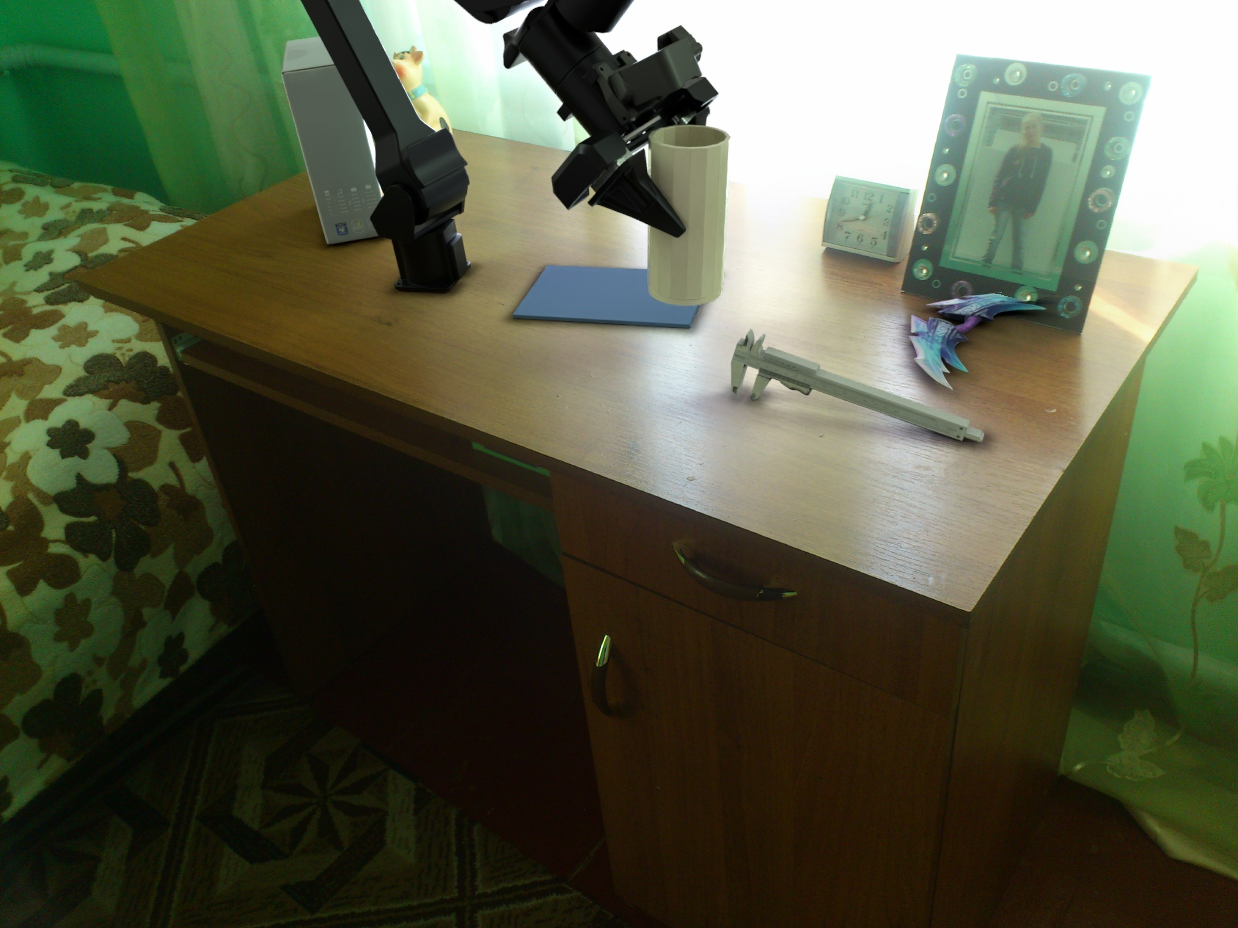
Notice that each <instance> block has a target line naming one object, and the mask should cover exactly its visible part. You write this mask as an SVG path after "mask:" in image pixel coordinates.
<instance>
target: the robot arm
mask: <svg viewBox="0 0 1238 928" xmlns="http://www.w3.org/2000/svg"><path fill="white" fill-rule="evenodd" d="M299 1H300V2H301V4H302V6H303V8H304V10H305V12H306V13H307V16H308V17H309V20H310V22H311V24H312V25H313V27H314V29H315V31H316V33H317V34H318V37H319V36H320V38H321V40H322V42H323V44H324V46H325V48H326V50H327V51H328V53H329V55H330V57H331V59H332V61H333V63H334V65H335V67H336V68H337V70H338V72H339V74H340V76H341V78H342V80H343V82H344V84H345V85H346V87H347V89H348V91H349V93H350V95H351V97H352V99H353V101H354V102H355V104H356V106H357V108H358V110H359V112H360V114H361V116H362V118H363V119H364V121H365V123H366V125H367V127H368V129H369V131H370V133H371V135H372V139H373V142H374V147H375V175H376V178H377V180H378V182H379V185H380V187H381V190H382V192H383V197H382V198H381V200H380V201H379V203H378V205H377V206H376V208H375V210H374V211H373V213H372V215H371V216H370V221H371V223H372V225H373V227H374V229H375V231H376V233H377V235H378V236H377V237H379V238H382V239H387V240H390V241H391V245H392V248H393V253H394V256H395V261H396V264H397V269H398V272H399V277H400V278H399V279H397V281H396V282H395V283H394V285H393V286H394V290H396V291H397V290H398V291H414V292H415V291H416V292H433V293H436V292H437V293H449V292H450V291H451V290H453V289H454V287H455V286H456V285H457V283H459V281H460V280H461V279H462V278H463V276H465V274H466V273H468V271H469V269H470V268H471V267H472V265H471V261H469V260H468V259H467V256H466V250H465V245H464V240H463V236H462V233H458V230H457V225H456V219H455V217H457V216H458V215H462V214H464V212H465V205H466V197H467V195H468V189H469V186H470V183H471V182H470V178H469V177H470V176H469V174H468V171H467V169H466V166H468V165H469V164H468V161H466V159H465V158H464V157H463V156H462V154H461V151H459V149H458V146H457V144H456V141H455V139H454V136H453V134H452V133H451V132H450V130H449V129H448V128H447V127H442V128H441V129H439V130H435V129H434V128H433V127H432V126H430V125H429V124H427V123H426V122H425V121H424V120H422V119H421V117H420V116H419V114H418V113H417V110H416V108H415V107H414V105H413V103H412V100H411V98H410V97H409V94H408V93H407V90H406V89H405V87H404V85H403V83H402V80H401V79H400V77H399V75H398V73H397V71H396V69H395V67H394V65H393V63H392V61H391V59H390V57H389V55H388V54H387V51H386V49H385V47H384V46H383V44H382V41H381V39H380V38H379V36H378V34H377V32H376V30H375V28H374V25H373V23H372V21H371V20H370V18H369V16H368V14H367V12H366V10H365V8H364V6H363V4H362V1H361V0H299ZM544 1H545V0H453V2H455V3H456V4H457V5H459V6H460V8H462V9H463V10H464V11H465V12H466V13H467V14H468V15H470V16H471V17H472V18H473V19H474V20H476V21H477V22H480V23H483V24H485V25H493V24H497V23H500V22H502V21H504V20H507V19H509V18H512V17H514V16H516V15H517V16H518V15H519V14H523V13H524V12H526V11H528V13H527V15H526V16H525V18H524V19H523V21H522V23H521V24H520V26H519V27H515V28H514V29H511V30H509V31H506V32H504V33H503V34H502V40H503V53H502V60H503V61H502V64H503V67H504V68H505V69H506V70H511V69H512V68H514V67H516V66H519V65H521V64H523V63H525V62H528V64H529V65H530V66H531V68H532V69H533V70H534V71H535V72H536V73H537V74H538V75H539V77H540V78H541V79H542V81H544V83H545V84H546V85H547V86H548V87H549V89H550V90H551V91H552V93H554V95H555V96H556V97H557V99H558V100H559V101H560V102H561V103H562V104H561V106H559V108H558V110H557V111H556V112H555V113H556V114H557V115H558V117H559V118H560V119H561V120H562V121H563V122H564V123H565V122H566V121H568V120H570V119H572V118H574V120H576V121H577V122H578V124H579V125H580V126H581V127H582V128H583V130H584V131H585V133H587V135H588V137H587V138H585V139H584V140H582V141H580V142H579V143H577V144H576V145H575V147H574V149H573V150H572V151H571V152H570V153H569V155H568V156H567V157H566V158H565V159H564V161H563V162H562V163H561V164H560V165H559V167H558V168H557V169H556V171H554V173H553V174H552V175H551V177H550V178H551V179H550V180H551V188H552V193H553V194H554V196H555V197H556V198H557V200H558V201H559V202H560V203H561V204H562V205H563V206H564V207H565V209H566V210H567V211H570V210H571V209H573V208H574V207H576V206H577V205H579V204H580V203H582V202H583V201H584V200H586V199H587V198H588V197H589V196H590V188H591V189H592V190H593V192H594V194H593V195H592V196H591V198H589V200H588V201H587V205H589V206H590V207H591V208H594V207H595V206H599V207H603V208H604V209H608V210H610V211H613V212H615V213H619V214H621V215H624V216H626V217H629V218H632V219H634V220H636V221H638V222H640V223H643V224H645V225H647V226H648V225H649V226H651V227H654V228H656V229H658V230H660V231H662V232H664V233H667V234H669V235H671V236H673V237H675V238H679V237H680V236H682V235H683V234H684V233H685V232H686V228H685V226H684V224H683V223H682V221H681V220H680V218H679V216H678V215H677V213H676V212H675V211H674V209H673V208H672V206H671V205H670V204H669V202H668V201H667V200H666V198H665V197H664V196H663V194H662V193H661V191H660V190H659V189H658V187H657V186H656V185H655V183H654V182H653V181H652V179H651V178H650V176H649V174H648V161H647V155H646V150H645V148H644V147H645V146H648V136H649V135H650V134H651V132H652V131H655V130H657V129H660V128H664V127H669V126H675V125H702V126H707V119H708V117H709V116H710V114H711V107H710V105H711V104H712V103H713V102H714V101H715V100H716V99H717V98H718V97H719V95H720V92H718V91H717V89H716V88H715V87H714V86H713V84H712V83H711V82H710V81H709V79H708V78H707V77H706V76H703V72H702V70H701V67H700V65H699V62H700V61H701V58H702V53H703V51H704V50H703V49H704V48H703V45H702V43H701V42H699V41H697V39H696V38H695V37H694V36H693V35H692V33H690V32H689V31H688V30H687V29H686V28H685V27H684V26H683V25H682V24H680V25H678V26H676V27H674V28H672V29H669V30H668V31H666V32H664V33H663V34H660V35H659V36H657V38H656V45H657V46H656V47H657V49H656V51H654V52H652V53H650V54H648V55H647V56H645V57H643V58H641V59H639V60H637V59H636V57H634V55H633V54H632V53H631V52H630V51H628V50H625V49H622V50H619V51H618V52H616V53H613V51H612V50H611V49H610V48H609V47H608V46H607V44H606V43H605V42H604V40H603V39H602V38H601V37H600V36H599V34H608V33H611V32H613V31H614V30H615V29H616V28H617V26H618V25H619V24H620V23H621V21H622V20H623V19H624V17H625V16H626V15H627V13H628V12H629V10H630V9H631V8H632V6H633V5H634V3H636V1H637V0H547V1H546V3H545V4H544V5H542V4H543V3H544Z"/></svg>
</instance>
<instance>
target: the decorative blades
mask: <svg viewBox="0 0 1238 928" xmlns="http://www.w3.org/2000/svg"><path fill="white" fill-rule="evenodd" d="M995 293H996V292H995ZM995 293H988V294H987V293H986V294H978V295H962V297H963V298H964V299H960V298H953V299H948V300H942V301H937V302H932V303H927V304H926V307H933V308H937V309H941V310H939V311H936V313H938V314H941V315H943V316H944V317H945V318H948V319H951V320H954V321H957V322H958V321H959V322H964V323H962V324H959V325H954V324H953V323H952V322H950V321H948V320H945V319H942V318H939V317H937V318H934V317H932V316H929V317H928V322H927V321H925V320H924V319H922V318H919V317H918V316H915V315H914V314H911V316H910V317H911V318H910V333H911V334H916V335H908V338H909V339H910V341H911V343H912V345H913V347H914V349H915V352H916V357H914V358H912V360H913V361H914V362H915V363H916V364H917V365H918V366H919V367H920V368H921V369H922V371H924V373H926V374H927V375H928V376H930V378H932V379H933V380H934V381H936V382H938V383H939V384H941V385H943V386H945V387H947V388H948V389H950V390H951V391H954V388H953V387H952V386H951V384H950V383H949V382H948V381H947V379H946V377H945V375H944V373H947V374H951V372H950V371H949V370H948V369H947V368H946V366H945V364H944V362H945V363H947V364H948V365H950V366H952V367H954V368H955V369H958V370H960V371H962V372H966V373H969V370H968V369H967V368H966V367H965V365H964V364H963V363H962V361H961V359H959V358H958V356H957V353H956V349H955V347H956V346H957V344H959V343H961V342H968V341H969V338H967V336H966V335H965V334H966V333H968V332H969V331H971V330H972V329H973V328H974V327H976V326H977V325H978V324H979V323H984V322H994V321H995V319H994V316H995V315H997V314H999V313H1002V312H1010V311H1037V310H1038V311H1040V310H1041V311H1042V310H1043V311H1044V310H1047V308H1046V307H1043V306H1039V305H1035V304H1029V303H1027V302H1026V301H1023V300H1020V299H1016V298H1012V297H1008V296H1004V295H1001V294H995ZM942 359H943V360H944V362H943V361H942Z"/></svg>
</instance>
